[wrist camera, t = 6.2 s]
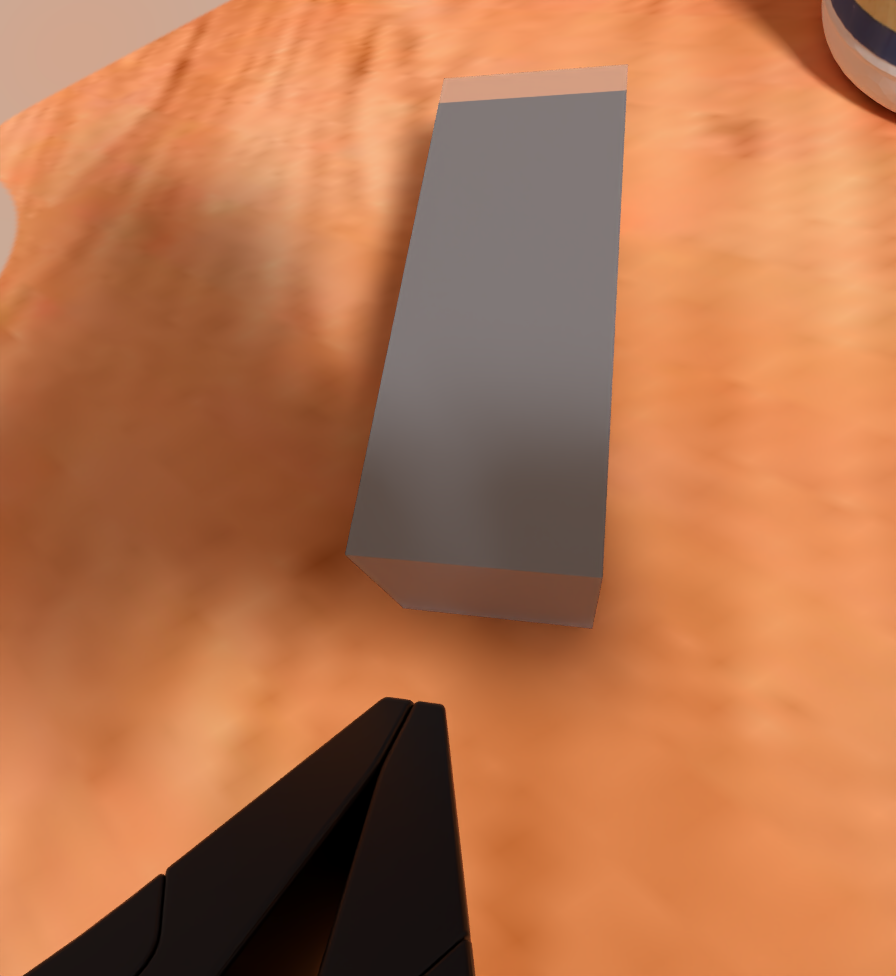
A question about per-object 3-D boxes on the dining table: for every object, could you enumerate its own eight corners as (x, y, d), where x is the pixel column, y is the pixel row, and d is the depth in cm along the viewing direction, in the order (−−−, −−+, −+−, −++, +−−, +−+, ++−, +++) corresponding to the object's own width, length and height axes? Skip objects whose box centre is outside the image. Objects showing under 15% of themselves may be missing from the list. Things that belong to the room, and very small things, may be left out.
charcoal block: (602, 578, 11) (627, 64, 17) (345, 554, 12) (444, 78, 18) (592, 628, 16) (614, 212, 21) (404, 608, 17) (468, 216, 22)
